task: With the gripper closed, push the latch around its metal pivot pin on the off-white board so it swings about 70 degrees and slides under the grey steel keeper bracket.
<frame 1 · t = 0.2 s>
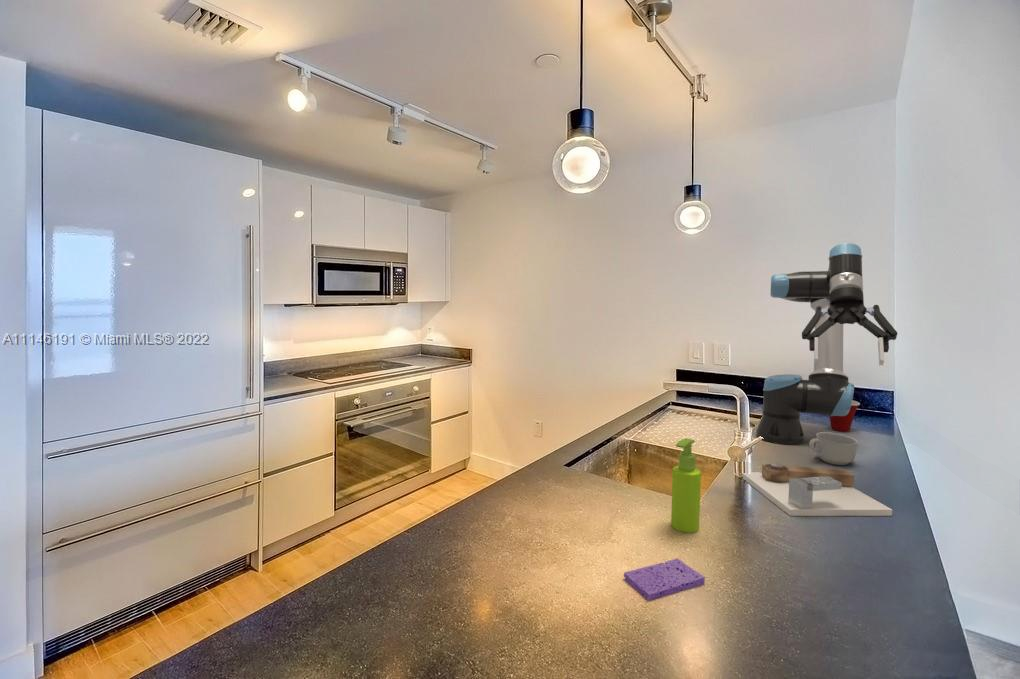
hand: (847, 362, 119), 35 cm above the countertop, tool tilted 35°, fingers open, 13 cm apart
latch: (806, 473, 127), point 4 cm above the countertop, hinge at 78.0°
plastic cup: (840, 430, 181), on the countertop
sponges: (663, 585, 85), on the countertop
keeper: (820, 509, 113), resting on base board
base board: (809, 494, 122), on the countertop
teacup: (829, 462, 146), on the countertop
soap dispenser: (683, 528, 105), on the countertop
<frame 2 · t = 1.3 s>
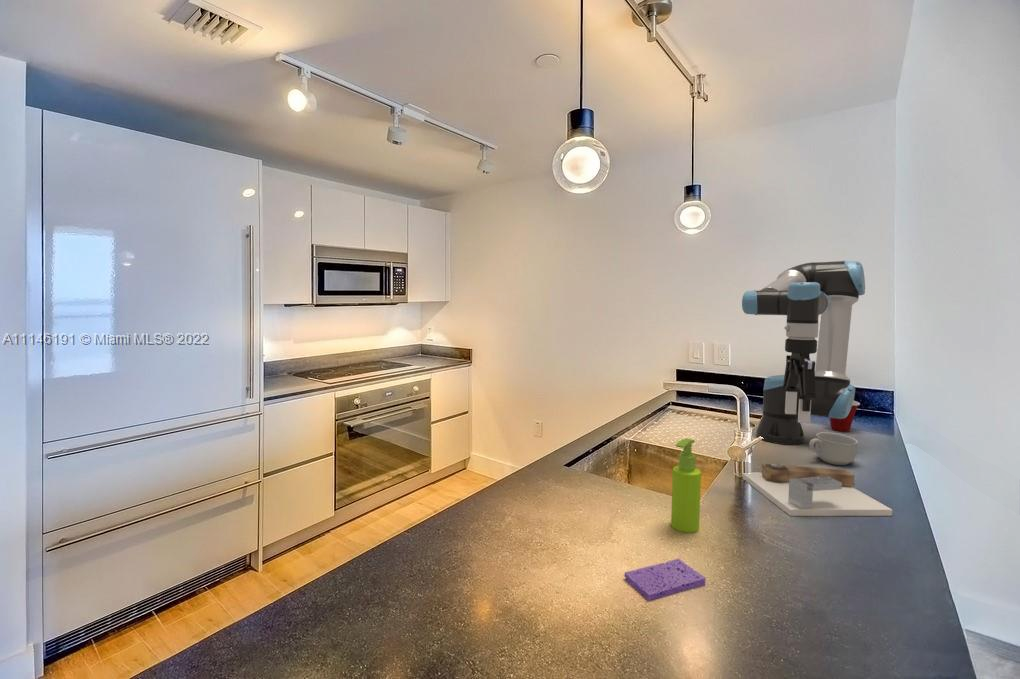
hand: (796, 417, 131), 17 cm above the countertop, tool pointing down, fingers open, 9 cm apart
nothing on the countertop moved.
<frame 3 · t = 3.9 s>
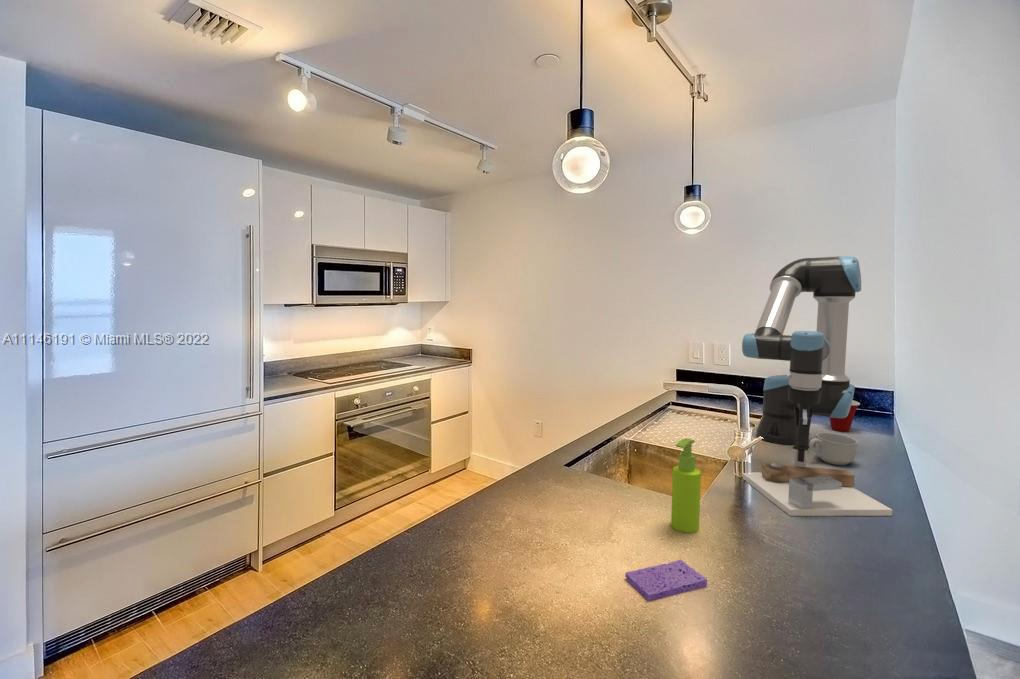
hand: (799, 471, 130), 3 cm above the countertop, tool pointing down, fingers closed
latch: (806, 473, 127), point 4 cm above the countertop, hinge at 77.8°, touching gripper
everything else where it was.
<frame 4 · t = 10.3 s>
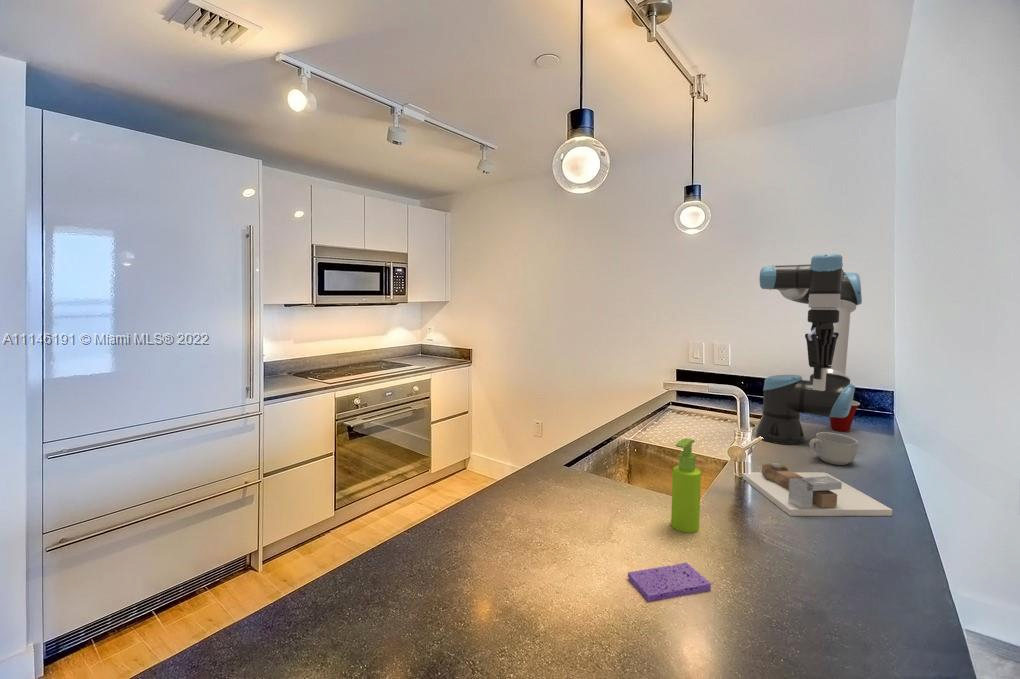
hand: (818, 389, 136), 24 cm above the countertop, tool pointing down, fingers closed
latch: (796, 482, 121), point 4 cm above the countertop, hinge at 8.1°
at the end: latch at +8° (first picture: +78°) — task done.
